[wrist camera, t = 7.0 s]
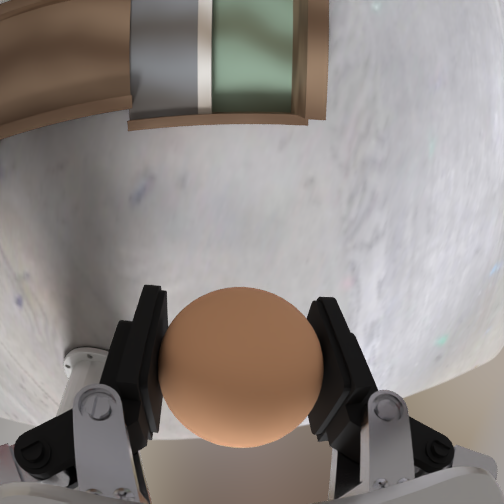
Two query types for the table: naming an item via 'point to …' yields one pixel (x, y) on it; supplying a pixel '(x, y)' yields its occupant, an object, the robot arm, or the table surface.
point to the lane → (163, 62)
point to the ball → (240, 367)
